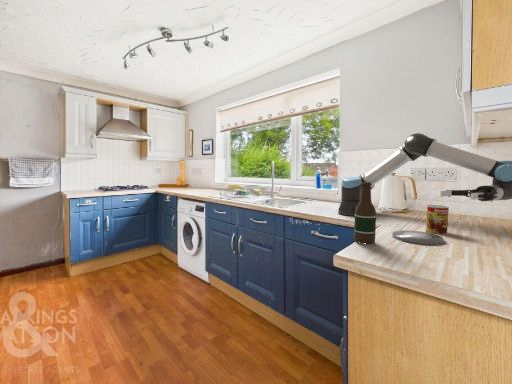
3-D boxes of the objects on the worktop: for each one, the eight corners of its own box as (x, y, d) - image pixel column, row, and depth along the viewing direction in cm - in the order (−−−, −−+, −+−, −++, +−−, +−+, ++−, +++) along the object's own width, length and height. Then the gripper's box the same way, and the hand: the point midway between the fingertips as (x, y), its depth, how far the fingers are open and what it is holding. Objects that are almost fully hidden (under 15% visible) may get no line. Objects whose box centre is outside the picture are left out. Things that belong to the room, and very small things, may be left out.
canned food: (437, 235, 110) (439, 208, 109) (421, 230, 117) (423, 205, 116) (451, 233, 112) (453, 207, 111) (434, 229, 119) (436, 204, 118)
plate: (386, 238, 104) (386, 235, 104) (399, 230, 117) (399, 228, 117) (439, 248, 92) (439, 244, 92) (446, 238, 105) (447, 235, 105)
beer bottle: (379, 244, 97) (382, 182, 95) (362, 245, 95) (365, 182, 93) (365, 238, 105) (367, 181, 102) (349, 240, 103) (351, 181, 100)
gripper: (520, 204, 110) (486, 206, 104) (460, 198, 133) (429, 200, 128) (521, 187, 109) (487, 188, 103) (461, 184, 133) (430, 185, 127)
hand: (455, 195), depth 115 cm, fingers open, 13 cm apart
